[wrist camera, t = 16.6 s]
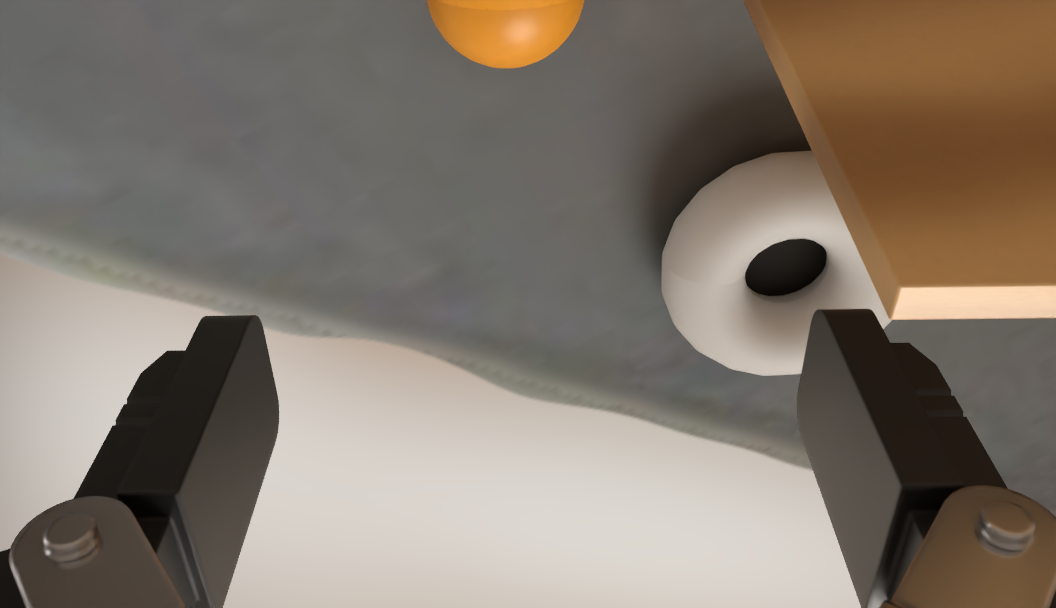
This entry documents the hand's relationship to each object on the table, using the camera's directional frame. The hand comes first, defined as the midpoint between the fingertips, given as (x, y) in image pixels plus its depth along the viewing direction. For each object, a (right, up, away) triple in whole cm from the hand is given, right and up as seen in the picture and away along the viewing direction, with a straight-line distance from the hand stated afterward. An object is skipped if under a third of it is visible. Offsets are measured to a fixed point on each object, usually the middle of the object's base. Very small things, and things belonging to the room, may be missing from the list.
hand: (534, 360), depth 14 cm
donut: (+10, +3, +25) cm, 28 cm away
